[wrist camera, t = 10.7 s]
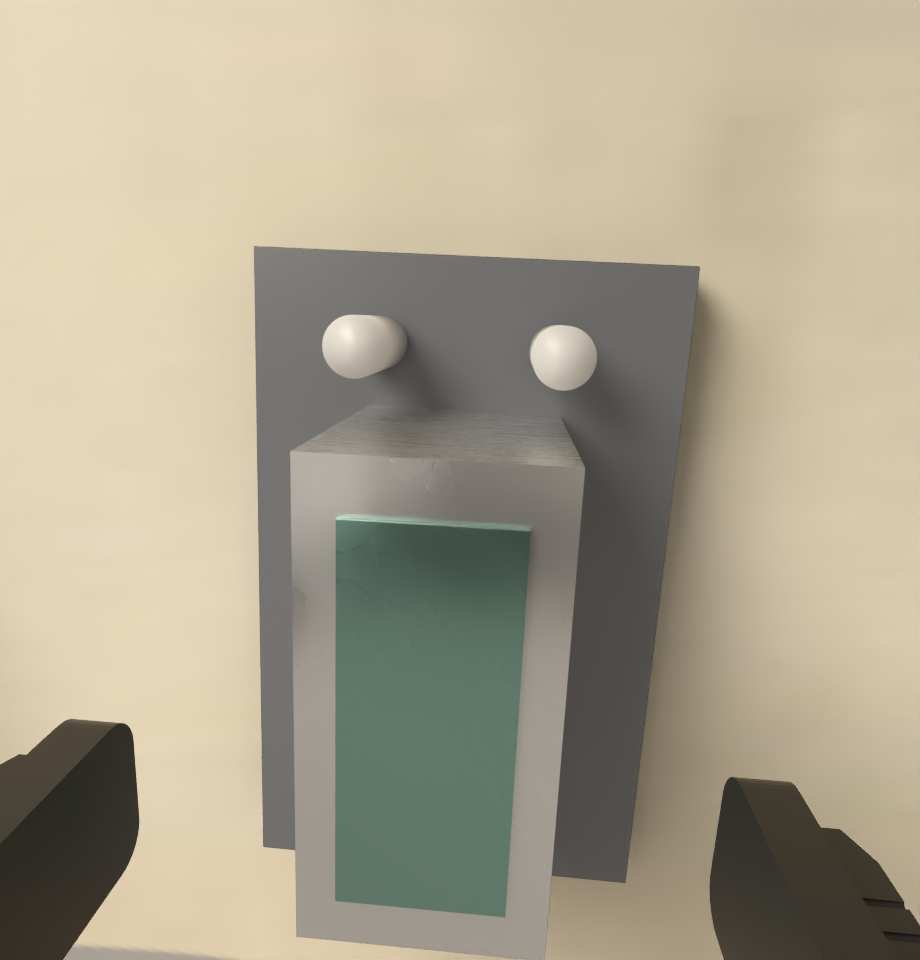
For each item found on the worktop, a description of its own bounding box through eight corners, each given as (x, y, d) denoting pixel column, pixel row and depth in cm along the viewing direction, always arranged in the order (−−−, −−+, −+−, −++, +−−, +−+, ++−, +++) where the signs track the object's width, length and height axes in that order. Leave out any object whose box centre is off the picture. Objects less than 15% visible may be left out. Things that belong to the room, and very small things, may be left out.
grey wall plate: (275, 252, 17) (195, 229, 13) (683, 271, 17) (743, 253, 12) (280, 810, 21) (219, 938, 17) (617, 842, 20) (645, 984, 16)
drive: (368, 405, 17) (287, 453, 11) (559, 415, 16) (586, 469, 10) (364, 743, 19) (294, 943, 13) (534, 757, 18) (544, 969, 12)
